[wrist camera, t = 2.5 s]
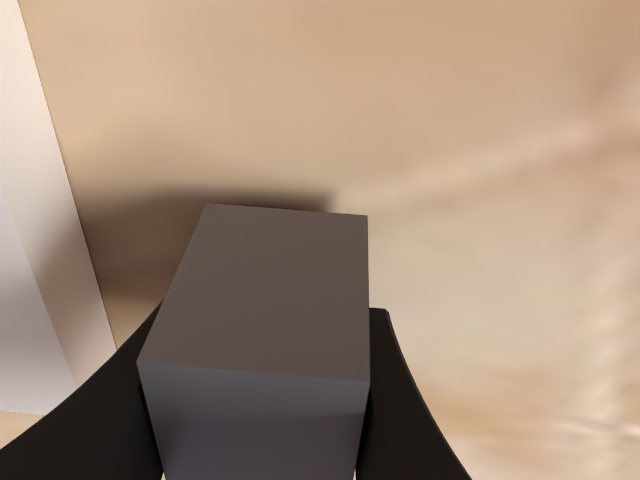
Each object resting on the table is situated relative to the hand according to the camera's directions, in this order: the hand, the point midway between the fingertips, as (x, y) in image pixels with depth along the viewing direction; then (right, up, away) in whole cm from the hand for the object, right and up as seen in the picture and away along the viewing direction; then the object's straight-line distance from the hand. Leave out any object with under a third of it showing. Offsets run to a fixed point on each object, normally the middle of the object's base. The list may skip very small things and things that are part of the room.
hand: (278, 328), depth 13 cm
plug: (0, +1, +1) cm, 2 cm away
